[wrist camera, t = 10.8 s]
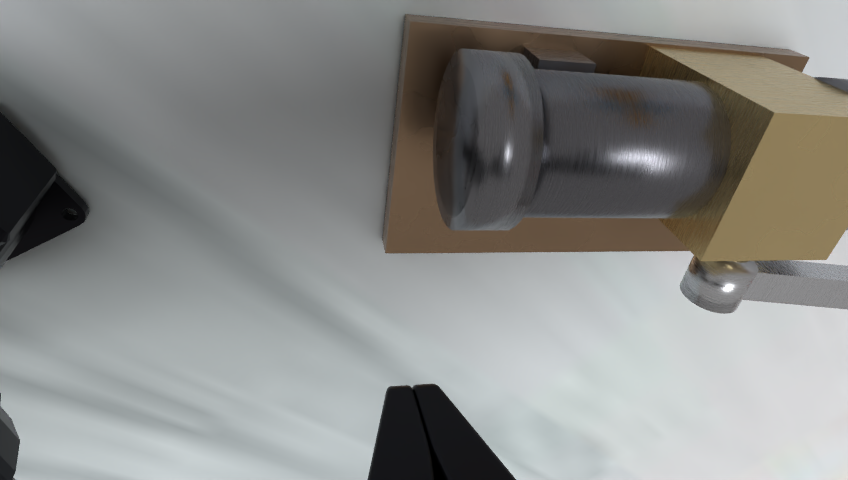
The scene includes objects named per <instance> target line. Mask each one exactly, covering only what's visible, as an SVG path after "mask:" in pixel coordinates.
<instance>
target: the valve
mask: <svg viewBox="0 0 848 480" xmlns="http://www.w3.org/2000/svg"><path fill="white" fill-rule="evenodd" d="M808 59H809V57H807V56H805V55H802V54H800V53H797V52H795V51H792V50H786V49H775V48H765V47H754V46H743V45H732V44H722V43H711V42H700V41H689V40H679V39H668V38H657V37H646V36H636V35H625V34H614V33H603V32H592V31H582V30H571V29H560V28H549V27H539V26H528V25H517V24H506V23H496V22H485V21H474V20H463V19H453V18H442V17H431V16H420V15H409V14H405V21H404V31H403V41H402V51H401V61H400V70H399V80H398V90H397V100H396V110H395V120H394V129H393V139H392V149H391V159H390V169H389V179H388V189H387V198H386V208H385V218H384V228H383V238H382V240H383V245H384V249H385V253H482V252H604V251H691V252H692V253H693V254H694V255H695V256H696V257H697V258H698V259H699V260H700V261H734V262H740V263H745V262H748V261H769V260H827V258H828V256H829V255H830V253H831V252H832V250H833V249H834V247H835V246H836V244H837V243H838V241H839V240H840V238H841V237H842V235H843V233H844V232H845V230H848V79H837V78H824V77H811V76H809V75H806V74H804V73H802V71H803V69H804V67H805V65H806V63H807V61H808Z"/></svg>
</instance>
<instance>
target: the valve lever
mask: <svg viewBox="0 0 848 480" xmlns="http://www.w3.org/2000/svg"><path fill="white" fill-rule="evenodd" d="M680 289H681V291H682V293H683V294H684V296H685V297H686V298H687V299H689V300H690V301H691V302H693V303H694V304H696V305H697V306H699V307H701V308H703V309H706V310H709V311H712V312H716V313H732V312H734V311H735V310H736V309H737V308H738V306H739V304H740V303H741V301H742V300H752V301H763V302H774V303H785V304H795V305H806V306H817V307H828V308H839V309H848V266H843V265H833V264H823V263H812V262H802V261H792V260H769V261H748V262H745V263H740V262H734V261H700V260H699V259H698V258H697V257H696V256H695V255H694V256H693V258H692V260H691V263H690V265H689V267H688V269H687V271H686V273H685V275H684V277H683V279H682V281H681V283H680Z"/></svg>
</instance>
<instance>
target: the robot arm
mask: <svg viewBox="0 0 848 480" xmlns="http://www.w3.org/2000/svg"><path fill="white" fill-rule="evenodd" d="M66 208H70V209H73V210H75V211H76V212H77V215H73V214H70V213H68V212H67V211H66ZM88 214H89V207H88V206H87V204H86V203H85V202H84V201H83V200H82V199H81V198H80V197H79V196H78V195H77V194H76V192H75V191H74V190H73V189H72V188H71V187H70V186H69V185H68V184H67V183H66V182H65V181H64V180H63V179H62V178H61V177H60V176H59V175H58V174H57V173H56V169H55V167H54V166H53V165H52V164H51V163H50V162H49V161H48V160H47V159H46V158H45V157H44V156H43V155H42V154H41V153H40V152H39V151H38V150H37V149H36V148H35V147H34V146H33V145H32V144H31V143H30V142H29V141H28V140H27V139H26V138H25V137H24V136H23V135H22V134H21V133H20V132H19V131H18V129H17V128H16V127H15V126H14V125H13V124H12V123H11V122H10V121H9V120H8V119H7V118H6V117H5V116H4V115H3V114H2V113H1V112H0V268H1V267H2V265H3V264H4V263H5V261H7V260H9V259H11V258H13V257H16V256H18V255H20V254H22V253H24V252H26V251H28V250H30V249H32V248H34V247H36V246H38V245H40V244H42V243H44V242H46V241H48V240H50V239H52V238H55V237H57V236H59V235H61V234H63V233H65V232H67V231H69V230H71V229H73V228H75V227H77V226H79V225H81V224H82V223H83V222H84V221H85V220H86V218H87V216H88ZM0 401H1V393H0ZM19 444H20V439H19V437H18V434H17V432H16V429H15V427H14V424H13V422H12V419H11V418H10V417H9V416H8V415H7V413H6V412H5V411H4V410H3V409H2V408H1V406H0V480H15V479H14V478H13V476H14V474H15V471H16V464H17V457H18V451H19ZM368 480H516V479H515V478H514V477H513V475H512V474H511V473H510V472H509V471H508V469H507V468H506V467H505V466H504V465H503V463H502V462H501V461H500V460H499V458H498V457H497V456H496V455H495V454H494V452H493V451H492V450H491V449H490V448H489V446H488V445H487V444H486V443H485V442H484V440H483V439H482V438H481V437H480V436H479V434H478V433H477V432H476V431H475V430H474V428H473V427H472V426H471V425H470V424H469V422H468V421H467V420H466V419H465V417H464V416H463V415H462V414H461V413H460V411H459V410H458V409H457V408H456V407H455V405H454V404H453V403H452V402H451V401H450V399H449V398H448V397H447V396H446V395H445V393H444V392H443V391H442V390H441V389H440V387H439V386H437V385H435V384H421V385H414V386H413V387H412V388H411V387H410V386H408V385H405V386H391V387H388V389H387V391H386V395H385V400H384V405H383V410H382V414H381V419H380V424H379V428H378V433H377V438H376V443H375V447H374V452H373V457H372V462H371V466H370V471H369V476H368Z"/></svg>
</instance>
